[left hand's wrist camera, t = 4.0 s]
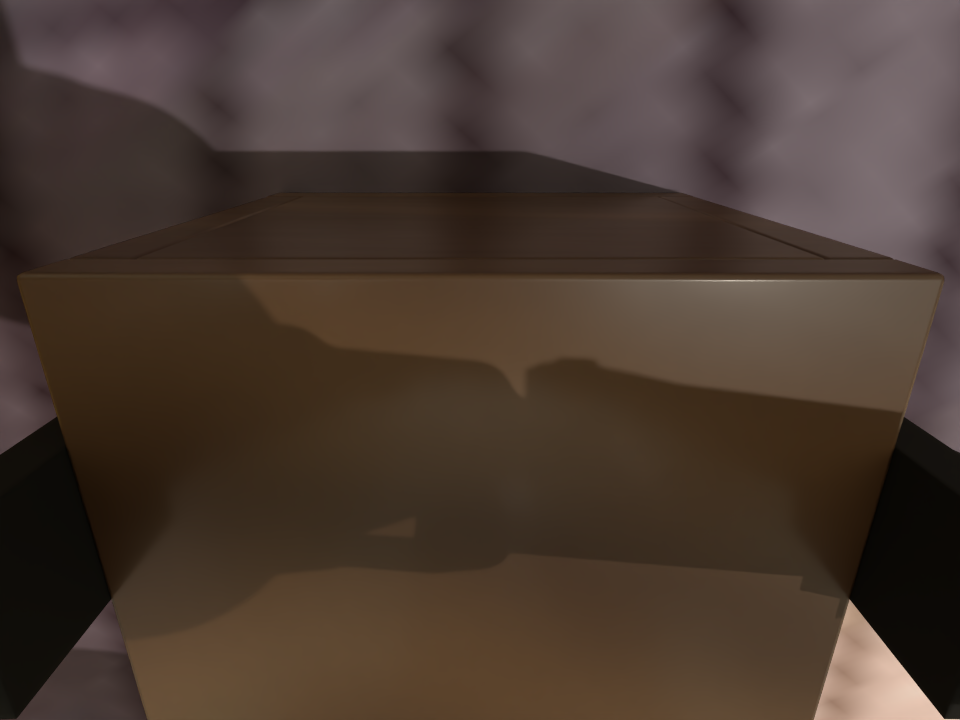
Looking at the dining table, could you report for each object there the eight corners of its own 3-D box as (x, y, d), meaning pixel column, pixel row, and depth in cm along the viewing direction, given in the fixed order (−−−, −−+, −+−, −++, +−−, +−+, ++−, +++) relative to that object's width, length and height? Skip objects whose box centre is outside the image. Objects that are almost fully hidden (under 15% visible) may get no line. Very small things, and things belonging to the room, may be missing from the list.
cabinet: (618, 712, 24) (707, 1082, 15) (341, 711, 24) (252, 1082, 15) (682, 192, 17) (949, 274, 7) (277, 192, 17) (10, 273, 7)
